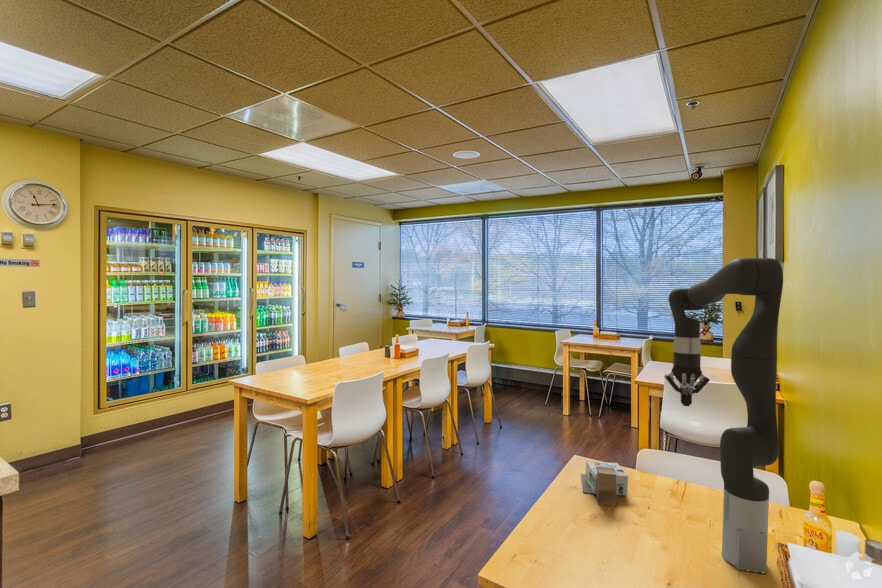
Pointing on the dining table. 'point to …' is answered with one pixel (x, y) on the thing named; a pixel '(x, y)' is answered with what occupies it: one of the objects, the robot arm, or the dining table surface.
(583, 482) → the mat
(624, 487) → the light bulb box
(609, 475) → the walnut block
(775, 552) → the dining table surface
